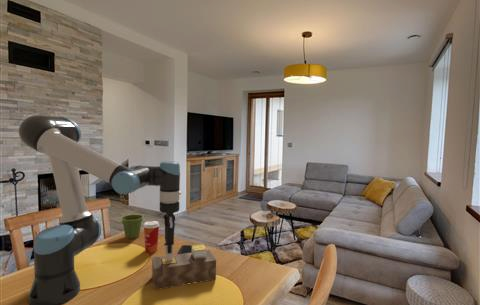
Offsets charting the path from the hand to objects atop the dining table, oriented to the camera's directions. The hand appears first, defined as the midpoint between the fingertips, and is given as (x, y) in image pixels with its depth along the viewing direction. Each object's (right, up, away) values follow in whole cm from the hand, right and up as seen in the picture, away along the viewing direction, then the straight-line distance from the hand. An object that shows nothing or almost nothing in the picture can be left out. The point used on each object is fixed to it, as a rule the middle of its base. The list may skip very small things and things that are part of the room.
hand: (168, 259), depth 107 cm
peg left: (0, -7, 0) cm, 7 cm away
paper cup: (-16, -7, +28) cm, 33 cm away
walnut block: (+5, -9, +3) cm, 10 cm away
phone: (+2, -8, +26) cm, 27 cm away
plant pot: (-32, -5, +45) cm, 56 cm away
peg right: (+11, -4, +5) cm, 12 cm away
